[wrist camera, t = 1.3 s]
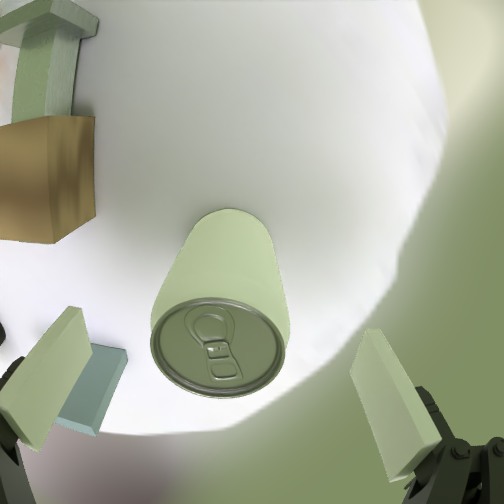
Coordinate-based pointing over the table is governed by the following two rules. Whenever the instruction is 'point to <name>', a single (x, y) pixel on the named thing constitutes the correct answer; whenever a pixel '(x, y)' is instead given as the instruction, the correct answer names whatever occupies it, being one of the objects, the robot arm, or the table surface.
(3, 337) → the drinking cup
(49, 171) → the tan wooden block
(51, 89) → the shaft
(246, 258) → the can
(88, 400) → the end plate
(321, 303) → the table surface
